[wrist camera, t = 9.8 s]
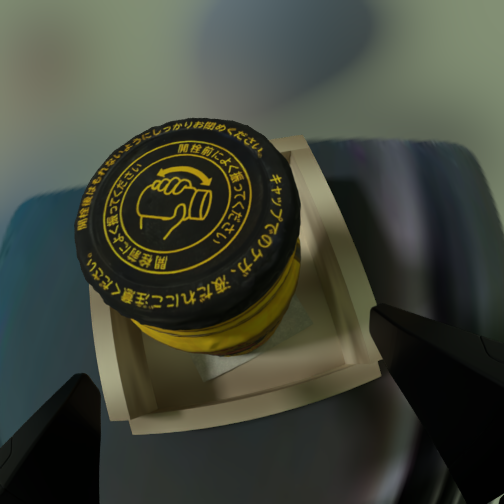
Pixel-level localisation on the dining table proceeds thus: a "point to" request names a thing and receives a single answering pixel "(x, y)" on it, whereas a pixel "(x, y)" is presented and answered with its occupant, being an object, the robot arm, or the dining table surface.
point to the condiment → (197, 240)
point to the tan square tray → (269, 362)
